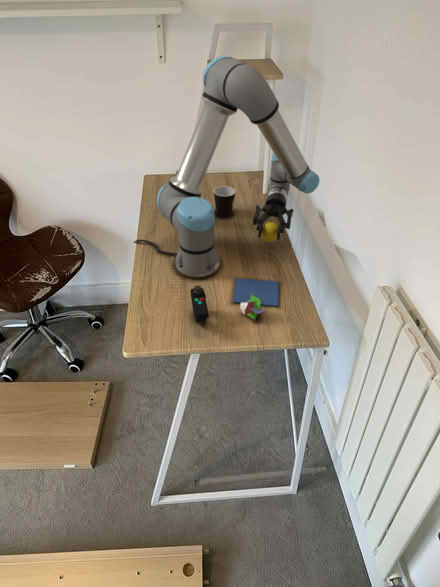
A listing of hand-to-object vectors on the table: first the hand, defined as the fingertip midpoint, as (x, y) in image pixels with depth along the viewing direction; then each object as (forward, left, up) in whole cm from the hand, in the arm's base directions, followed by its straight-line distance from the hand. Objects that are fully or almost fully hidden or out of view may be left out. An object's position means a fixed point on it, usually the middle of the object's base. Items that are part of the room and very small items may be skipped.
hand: (268, 235), depth 143 cm
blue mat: (-3, -15, -12) cm, 20 cm away
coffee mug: (-18, +35, -13) cm, 41 cm away
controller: (-19, -30, -13) cm, 37 cm away
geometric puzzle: (-3, -25, -13) cm, 29 cm away
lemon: (0, +5, -6) cm, 8 cm away
